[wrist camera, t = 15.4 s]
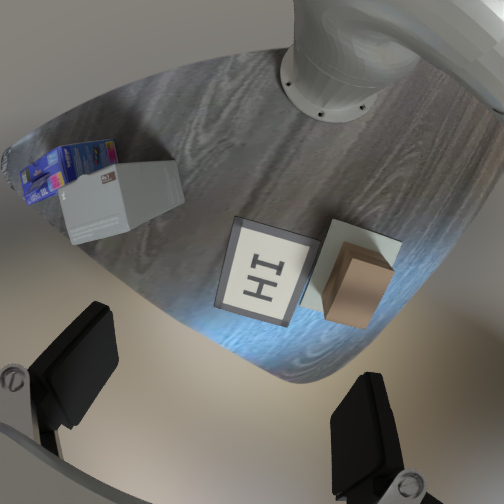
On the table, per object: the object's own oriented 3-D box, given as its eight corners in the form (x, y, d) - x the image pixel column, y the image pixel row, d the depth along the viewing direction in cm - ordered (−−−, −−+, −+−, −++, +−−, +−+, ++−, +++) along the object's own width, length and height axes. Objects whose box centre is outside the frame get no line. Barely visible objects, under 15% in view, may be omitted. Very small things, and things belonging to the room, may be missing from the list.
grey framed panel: (236, 214, 38) (235, 216, 37) (320, 239, 38) (320, 241, 37) (215, 303, 44) (213, 306, 43) (287, 323, 44) (287, 327, 43)
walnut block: (343, 241, 36) (352, 258, 31) (381, 253, 36) (394, 271, 31) (321, 296, 40) (324, 319, 34) (356, 306, 40) (364, 329, 34)
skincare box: (139, 214, 39) (71, 254, 25) (127, 169, 37) (51, 189, 22) (189, 202, 38) (131, 240, 23) (177, 152, 35) (109, 162, 21)
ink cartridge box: (78, 189, 39) (14, 212, 26) (71, 158, 37) (5, 173, 24) (122, 172, 37) (54, 190, 24) (114, 137, 35) (44, 143, 22)
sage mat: (331, 216, 36) (332, 218, 36) (399, 240, 36) (402, 242, 35) (299, 302, 42) (299, 306, 41) (362, 319, 42) (364, 322, 41)
